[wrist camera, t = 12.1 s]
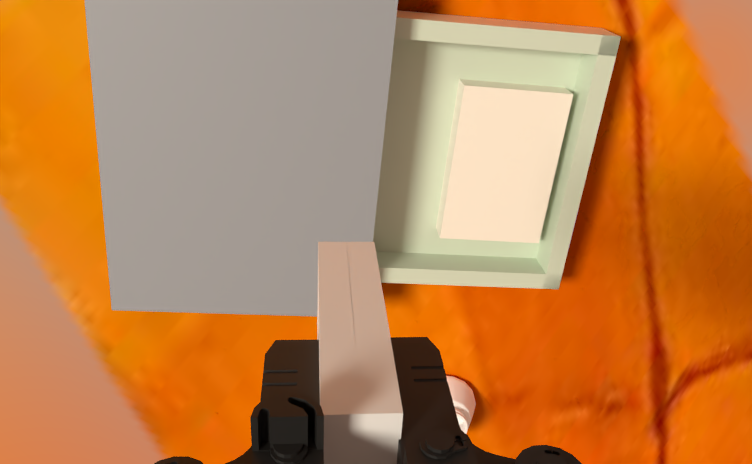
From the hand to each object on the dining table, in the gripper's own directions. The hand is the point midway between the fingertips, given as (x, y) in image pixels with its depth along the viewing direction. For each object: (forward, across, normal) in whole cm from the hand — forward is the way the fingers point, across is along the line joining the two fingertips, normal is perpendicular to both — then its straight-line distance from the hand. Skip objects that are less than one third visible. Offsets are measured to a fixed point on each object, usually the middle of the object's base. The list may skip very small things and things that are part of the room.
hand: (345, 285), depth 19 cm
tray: (+21, +9, -4) cm, 23 cm away
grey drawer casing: (+21, -4, -3) cm, 21 cm away
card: (+19, +10, -4) cm, 22 cm away
